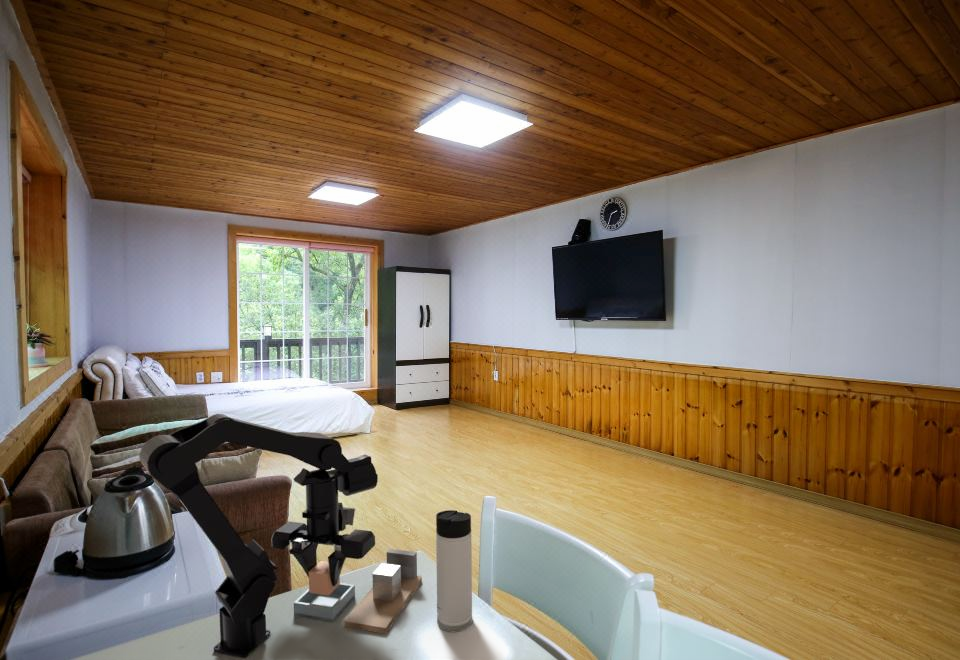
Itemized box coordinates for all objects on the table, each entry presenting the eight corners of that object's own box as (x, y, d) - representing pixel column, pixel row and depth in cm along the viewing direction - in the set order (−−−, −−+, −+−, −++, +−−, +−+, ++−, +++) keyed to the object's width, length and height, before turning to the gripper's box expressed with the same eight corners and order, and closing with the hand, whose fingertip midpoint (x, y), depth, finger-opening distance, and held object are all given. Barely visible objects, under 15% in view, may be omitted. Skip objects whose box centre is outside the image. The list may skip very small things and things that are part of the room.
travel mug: (429, 627, 90) (427, 516, 89) (448, 607, 96) (447, 502, 95) (460, 637, 87) (459, 523, 86) (478, 616, 93) (477, 509, 92)
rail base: (344, 626, 90) (343, 593, 90) (385, 576, 107) (385, 548, 106) (385, 633, 88) (385, 600, 88) (421, 581, 105) (421, 552, 104)
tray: (294, 615, 93) (293, 602, 93) (318, 591, 101) (318, 579, 101) (333, 622, 91) (332, 609, 91) (355, 597, 99) (354, 584, 99)
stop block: (309, 592, 95) (308, 571, 94) (321, 581, 99) (320, 561, 98) (328, 595, 94) (327, 574, 93) (339, 584, 97) (339, 563, 97)
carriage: (373, 599, 97) (372, 573, 96) (382, 587, 101) (381, 562, 100) (392, 602, 96) (392, 576, 95) (401, 590, 100) (400, 565, 99)
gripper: (387, 491, 100) (388, 568, 101) (303, 483, 105) (305, 556, 106) (359, 513, 90) (361, 599, 91) (268, 503, 94) (270, 585, 95)
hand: (324, 583), depth 96 cm, fingers closed on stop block, 4 cm apart
